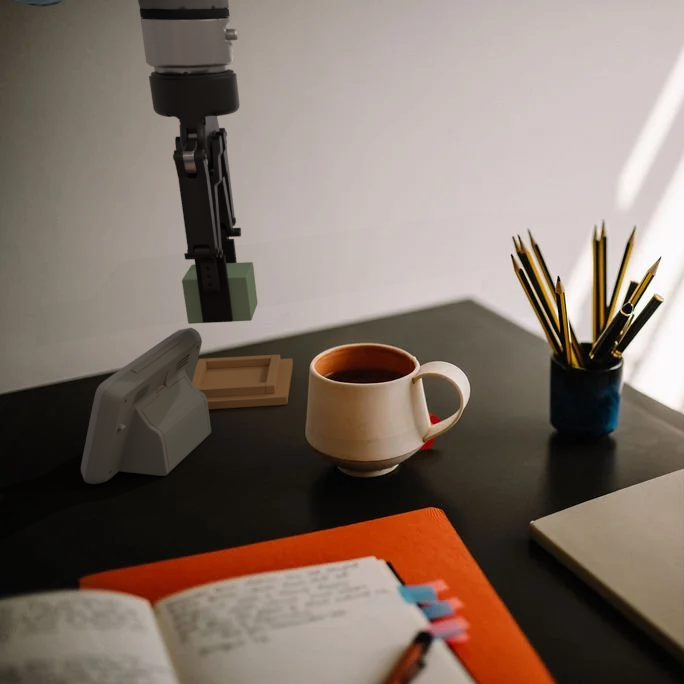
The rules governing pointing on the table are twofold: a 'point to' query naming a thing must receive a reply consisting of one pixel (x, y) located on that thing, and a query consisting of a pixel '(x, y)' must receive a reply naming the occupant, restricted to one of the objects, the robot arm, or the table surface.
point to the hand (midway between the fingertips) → (222, 310)
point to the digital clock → (148, 413)
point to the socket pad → (244, 381)
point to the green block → (239, 288)
